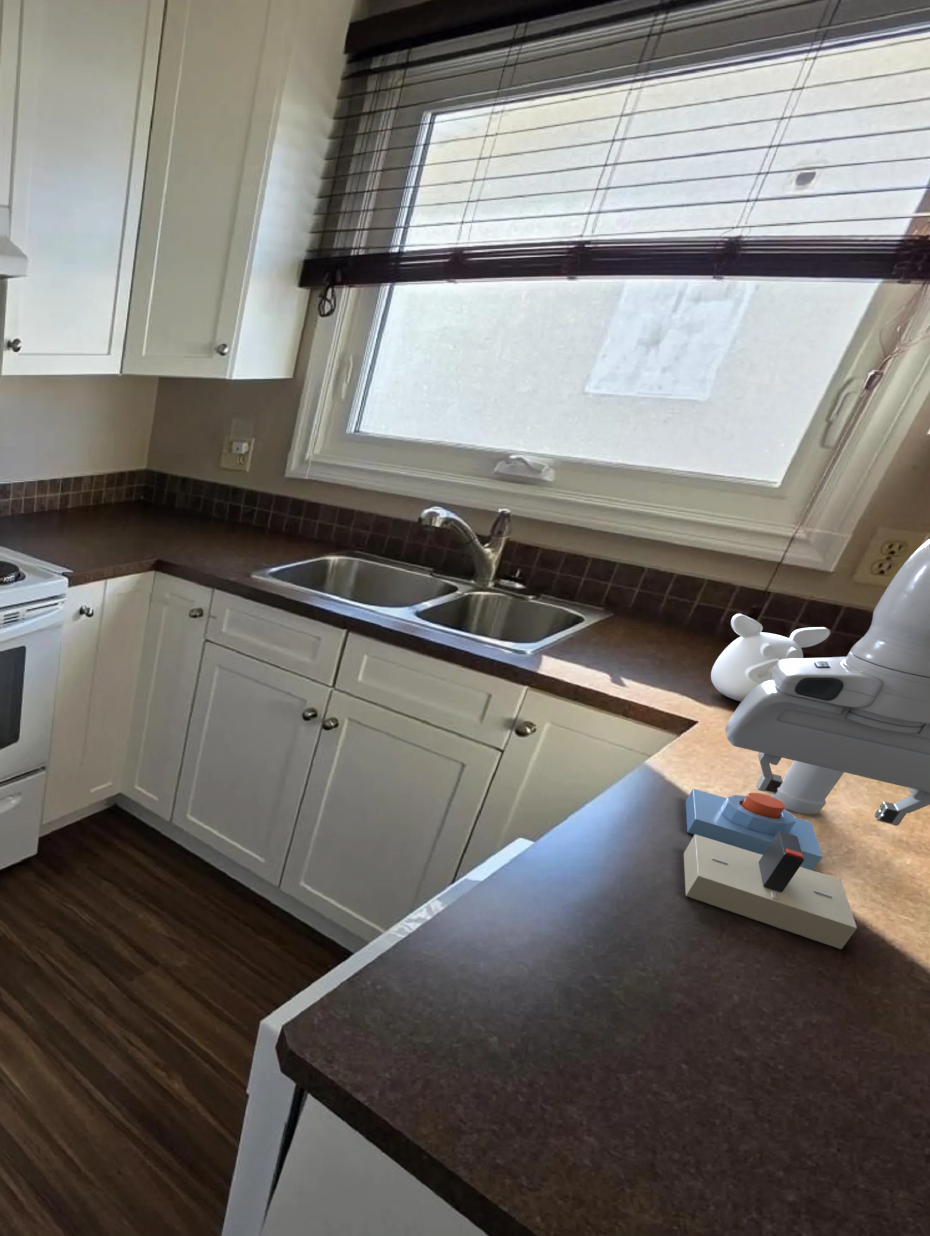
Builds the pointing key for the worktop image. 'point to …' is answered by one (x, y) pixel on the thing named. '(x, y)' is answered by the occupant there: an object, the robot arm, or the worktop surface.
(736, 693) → the piggy bank
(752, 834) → the button housing
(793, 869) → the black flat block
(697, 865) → the box
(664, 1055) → the worktop surface
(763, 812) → the button
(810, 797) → the bottle
